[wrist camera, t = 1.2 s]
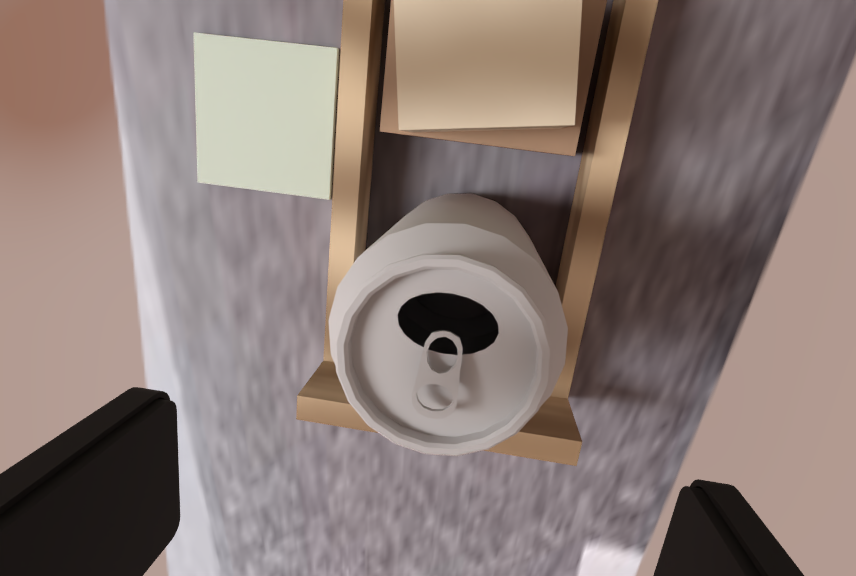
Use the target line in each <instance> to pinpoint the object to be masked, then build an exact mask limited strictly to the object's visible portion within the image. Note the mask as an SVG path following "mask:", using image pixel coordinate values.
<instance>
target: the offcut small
mask: <svg viewBox="0 0 856 576" xmlns="http://www.w3.org/2000/svg"><path fill="white" fill-rule="evenodd" d="M581 14H582V0H394V21H395V47H396V73H397V99H398V125H399V130H401V131H406V132H446V131H482V130H518V129H554V128H564V127H569V126H573V125H575V113H576V96H577V80H578V63H579V47H580V30H581Z"/></svg>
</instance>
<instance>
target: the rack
mask: <svg viewBox="0 0 856 576" xmlns="http://www.w3.org/2000/svg"><path fill="white" fill-rule="evenodd" d="M657 4H658V0H614V1H613V6H612V11H611V16H610V20H609V25H608V30H607V35H606V40H605V45H604V50H603V55H602V60H601V65H600V70H599V75H598V80H597V85H596V89H595V94H594V99H593V104H592V109H591V114H590V119H589V124H588V129H587V134H586V139H585V144H584V149H583V154H582V158H581V163H580V168H579V173H578V178H577V183H576V188H575V193H574V198H573V203H572V208H571V213H570V218H569V223H568V227H567V232H566V237H565V242H564V247H563V252H562V257H561V262H560V267H559V272H558V277H557V282H556V289H557V291H558V293H559V297H560V301H561V304H562V308H563V312H564V315H565V319H566V323H567V327H568V334H567V346H566V358H565V365H564V367H563V370H562V372H561V374H560V376H559V378H558V381H557V383H556V385H555V387H554V389H553V392H552V394H551V396H550V397H549V398H548V399H547V400H546V401H545V402H544V403H543V404H542V405H541V407H540V408H539V410H538V412H537V413H536V414H535V415H534V416H533V417H532V418H531V419H530V420H529V421H528V422H527V423H526V424H525V425H524V426H523V428H522V429H521V430H520V431H519V432H518V433H517V434H515V435H514V436H512V437H510V438H508V439H506V440H505V441H503V442H501V443H499V444H497V445H495V446H494V447H492V448H490V449H488V450H484V451H490V452H496V453H502V454H508V455H514V456H520V457H526V458H532V459H538V460H544V461H550V462H556V463H562V464H568V465H574V466H577V461H578V457H579V453H580V449H581V445H582V440H581V437H580V434H579V431H578V428H577V425H576V422H575V419H574V416H573V413H572V410H571V407H570V404H569V401H568V396H569V391H570V387H571V382H572V378H573V374H574V369H575V365H576V360H577V356H578V352H579V347H580V343H581V338H582V334H583V330H584V325H585V321H586V316H587V312H588V308H589V303H590V299H591V294H592V290H593V286H594V281H595V277H596V272H597V268H598V264H599V259H600V255H601V250H602V246H603V242H604V237H605V233H606V228H607V224H608V220H609V215H610V211H611V206H612V202H613V198H614V193H615V189H616V184H617V180H618V176H619V171H620V167H621V162H622V158H623V154H624V149H625V145H626V140H627V136H628V132H629V127H630V123H631V118H632V114H633V110H634V105H635V101H636V96H637V92H638V88H639V83H640V79H641V74H642V70H643V66H644V61H645V57H646V52H647V48H648V44H649V39H650V35H651V30H652V26H653V22H654V17H655V13H656V8H657ZM384 8H385V0H343V17H342V35H341V54H340V72H339V90H338V108H337V126H336V144H335V162H334V180H333V198H332V216H331V234H330V252H329V270H328V288H327V306H326V325H325V343H324V361H323V362H322V363H321V365H320V366H319V367H318V369H317V370H316V371H315V373H314V374H313V375H312V377H311V378H310V379H309V381H308V382H307V383H306V385H305V386H304V387H303V389H302V390H301V391H300V393H299V394H298V395H297V418H296V419H298V420H304V421H310V422H316V423H322V424H328V425H334V426H340V427H346V428H352V429H358V430H364V431H370V432H376V433H378V432H377V431H375V430H374V429H372V428H371V427H369V426H368V425H367V424H366V423H365V421H364V420H363V419H362V418H361V416H360V415H359V414H358V413H357V412H356V410H355V409H354V408H353V407H352V405H351V404H350V403H349V402H348V400H347V398H346V395H345V393H344V390H343V388H342V385H341V383H340V381H339V378H338V376H337V373H336V366H335V363H334V361H333V358H332V356H331V350H330V335H329V321H328V320H329V316H330V313H331V309H332V305H333V302H334V298H335V294H336V290H337V287H338V285H339V284H340V282H341V281H342V279H343V278H344V277H345V275H346V274H347V272H348V271H349V269H350V268H351V266H352V265H353V263H354V262H355V261H356V259H357V258H358V257H359V256H360V255H361V254H362V253H363V252H364V251H365V250H366V238H367V225H368V212H369V200H370V187H371V174H372V161H373V148H374V136H375V123H376V110H377V97H378V84H379V72H380V59H381V46H382V33H383V20H384Z"/></svg>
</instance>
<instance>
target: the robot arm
mask: <svg viewBox="0 0 856 576" xmlns="http://www.w3.org/2000/svg"><path fill="white" fill-rule="evenodd" d="M179 522H180V496H179V466H178V435H177V409H176V405H175V403H174V402H173V401H170V398H169V396H168V394H167V393H165V392H163V391H157V390H151V389H145V388H138V387H133V388H131V389H129V390H127V391H125V392H124V393H122V394H121V395H119V396H118V397H116V398H115V399H113V400H112V401H110V402H109V403H107V404H106V405H104V406H103V407H101V408H100V409H98V410H97V411H95V412H94V413H92V414H91V415H89V416H87V417H86V418H84V419H83V420H81V421H80V422H78V423H77V424H75V425H74V426H72V427H71V428H69V429H68V430H66V431H65V432H63V433H62V434H60V435H59V436H57V437H56V438H54V439H53V440H51V441H50V442H48V443H47V444H45V445H44V446H42V447H40V448H39V449H37V450H36V451H34V452H33V453H31V454H30V455H28V456H27V457H25V458H24V459H22V460H21V461H19V462H18V463H16V464H15V465H13V466H12V467H10V468H9V469H7V470H6V471H4V472H3V473H1V474H0V576H143V575H144V573H145V572H146V571H147V570H148V568H149V567H150V566H151V565H152V563H153V562H154V561H155V559H157V557H158V556H159V555H160V554H161V552H162V551H163V550H164V549H165V547H166V546H167V545H168V544H169V542H170V541H171V540H172V538H173V537H174V535H175V533H176V531H177V529H178V526H179ZM654 576H804V575H803V573H802V572H801V571H800V570H799V568H798V567H797V566H796V564H795V563H794V562H793V561H792V559H791V558H790V557H789V555H788V554H787V553H786V551H785V550H784V549H783V548H782V546H781V545H780V544H779V542H778V541H777V540H776V539H775V537H774V536H773V535H772V533H771V532H770V531H769V530H768V528H767V527H766V526H765V524H764V523H763V522H762V520H761V519H760V518H759V517H758V515H757V514H756V513H755V511H754V510H753V509H752V508H751V506H750V505H749V504H748V503H747V501H746V500H745V499H744V497H743V496H742V495H741V493H740V492H739V491H738V490H737V489H736V488H735V487H734V486H732V485H729V484H722V483H716V482H710V481H704V480H695V481H693V483H692V484H691V486H690V487H688V486H685V487H683V488H682V489H681V491H680V493H679V496H678V499H677V502H676V506H675V509H674V512H673V515H672V518H671V521H670V525H669V528H668V531H667V534H666V538H665V541H664V544H663V547H662V550H661V554H660V557H659V560H658V563H657V566H656V569H655V573H654Z"/></svg>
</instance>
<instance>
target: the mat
mask: <svg viewBox="0 0 856 576" xmlns="http://www.w3.org/2000/svg"><path fill="white" fill-rule="evenodd" d="M338 61H339V49H338V48H332V47H323V46H313V45H304V44H295V43H286V42H276V41H267V40H258V39H248V38H239V37H230V36H220V35H211V34H202V33H194V65H195V103H196V140H197V177H198V182H199V183H207V184H214V185H222V186H230V187H237V188H245V189H252V190H260V191H268V192H275V193H283V194H290V195H298V196H306V197H313V198H321V199H331V190H332V172H333V153H334V135H335V116H336V98H337V80H338Z"/></svg>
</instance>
